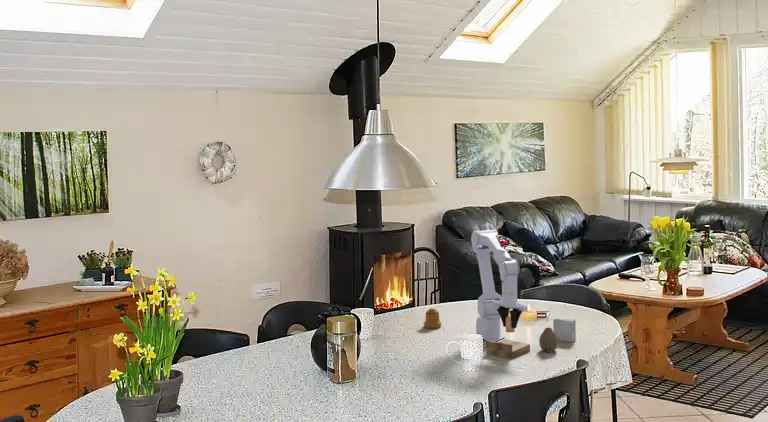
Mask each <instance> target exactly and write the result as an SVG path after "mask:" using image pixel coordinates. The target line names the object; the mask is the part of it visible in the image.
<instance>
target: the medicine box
mask: <svg viewBox="0 0 768 422" xmlns="http://www.w3.org/2000/svg"><path fill="white" fill-rule="evenodd" d="M576 321H577V320H576V318H570V317H563V316H557V317H555V318H553V321H552V323H553V325H552V328H553V329H552V330H553V332H554V333H555V334H556V336H557V339H558V342H566V343H567V342H568V343H573V342H575V341H576V338H577V337H576V335H577V334H576V333H577V332H576V326H577V325H576V323H577V322H576Z"/></svg>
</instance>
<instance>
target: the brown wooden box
mask: <svg viewBox="0 0 768 422" xmlns="http://www.w3.org/2000/svg"><path fill="white" fill-rule="evenodd" d="M485 341H486V349H485V350H486V354H487V353H489V354H488V355H491V354H493V355H492V356H495V355H496V356H495V357H501V358H504V359H510V360H512V359H514V358H517V357H519V356H521V355H524V354H525V353H528V352H530V351H531V344H530V343H526V342H521V341H515V340H511V339H506V338H505V339H502V340H501V341H500V340H499V341H490V340H485Z"/></svg>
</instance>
